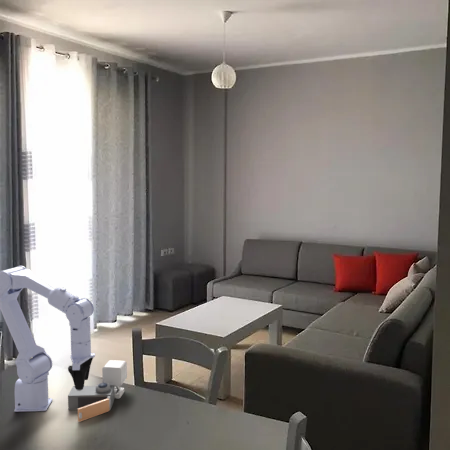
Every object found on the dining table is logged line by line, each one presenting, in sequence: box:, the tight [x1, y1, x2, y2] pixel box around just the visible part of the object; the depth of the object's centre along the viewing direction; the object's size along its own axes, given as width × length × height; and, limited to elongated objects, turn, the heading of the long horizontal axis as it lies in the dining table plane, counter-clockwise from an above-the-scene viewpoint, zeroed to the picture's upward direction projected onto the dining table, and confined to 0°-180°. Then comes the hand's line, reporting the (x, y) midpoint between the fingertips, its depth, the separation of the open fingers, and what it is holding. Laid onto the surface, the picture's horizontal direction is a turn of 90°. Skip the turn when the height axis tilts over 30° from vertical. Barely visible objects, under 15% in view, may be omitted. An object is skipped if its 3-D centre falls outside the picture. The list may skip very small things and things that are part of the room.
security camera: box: [101, 359, 128, 399], centre depth 171 cm, size 6×7×10 cm
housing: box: [67, 382, 116, 411], centre depth 163 cm, size 13×7×6 cm, turn 93°
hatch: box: [77, 396, 112, 423], centre depth 156 cm, size 11×2×4 cm, turn 133°
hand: (81, 384), depth 156 cm, fingers open, 6 cm apart
